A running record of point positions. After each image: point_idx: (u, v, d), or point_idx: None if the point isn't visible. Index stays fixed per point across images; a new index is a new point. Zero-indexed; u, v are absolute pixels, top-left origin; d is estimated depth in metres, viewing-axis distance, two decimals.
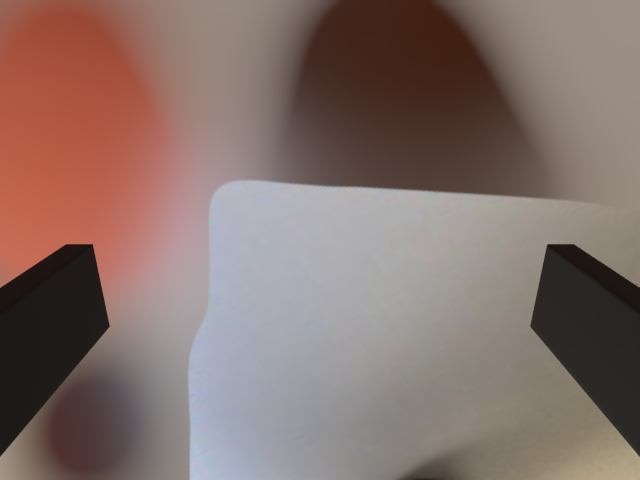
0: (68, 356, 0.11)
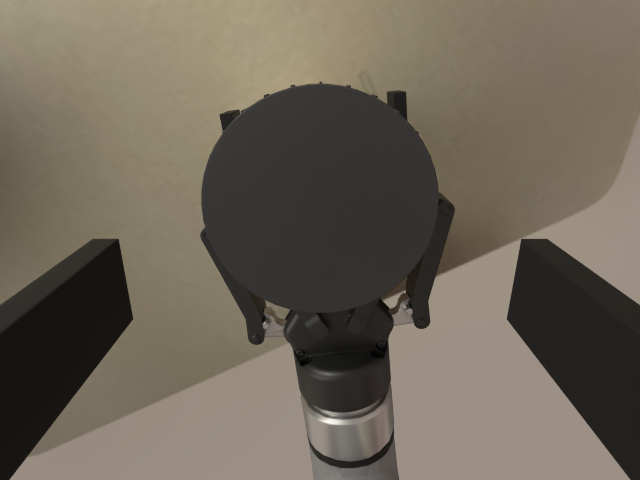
0: (97, 346, 0.11)
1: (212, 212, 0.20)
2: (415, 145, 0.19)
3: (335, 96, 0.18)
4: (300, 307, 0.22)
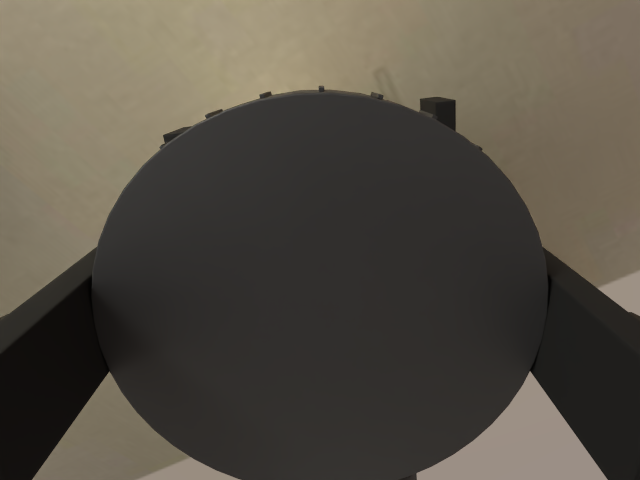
0: None
1: (115, 334, 0.10)
2: (511, 214, 0.09)
3: (352, 117, 0.09)
4: None
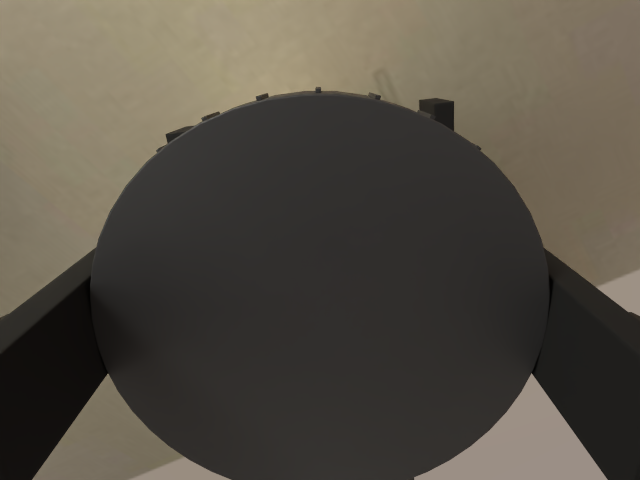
0: None
1: (365, 478, 0.12)
2: (139, 197, 0.09)
3: (116, 351, 0.10)
4: (538, 324, 0.10)
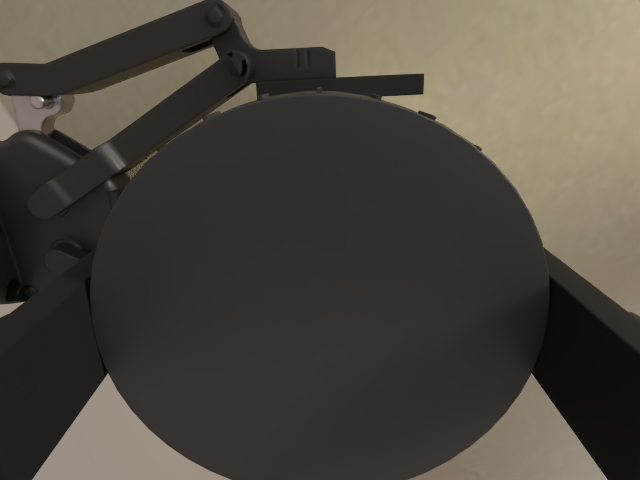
0: None
1: (364, 478, 0.12)
2: (139, 197, 0.09)
3: (116, 351, 0.10)
4: (537, 325, 0.10)
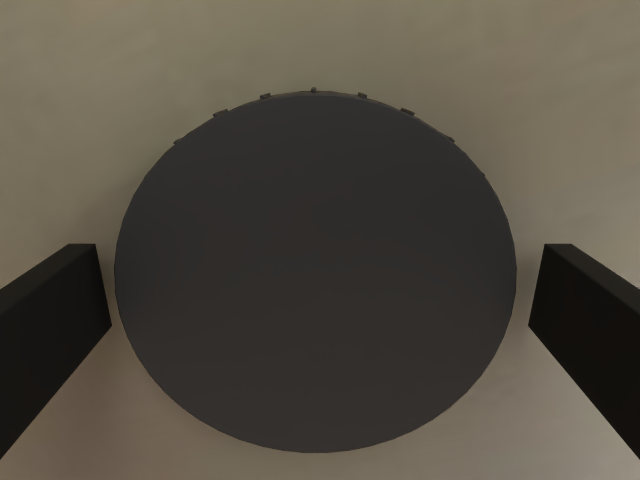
0: (71, 355, 0.11)
1: (356, 437, 0.13)
2: (158, 183, 0.10)
3: (136, 320, 0.12)
4: (506, 295, 0.12)
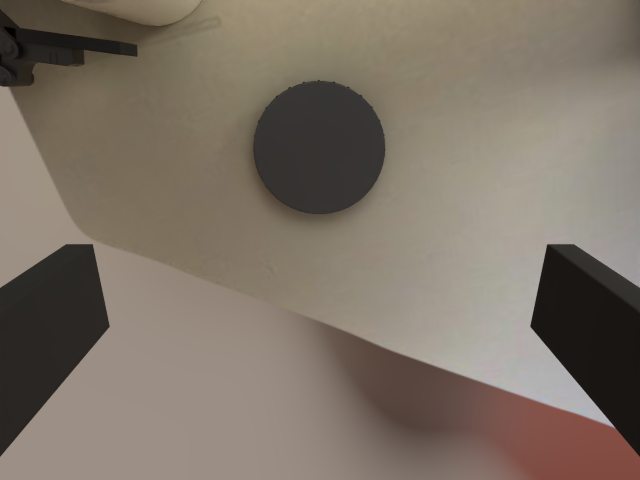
0: (68, 356, 0.11)
1: (333, 206, 0.37)
2: (271, 109, 0.34)
3: (259, 157, 0.36)
4: (382, 148, 0.35)
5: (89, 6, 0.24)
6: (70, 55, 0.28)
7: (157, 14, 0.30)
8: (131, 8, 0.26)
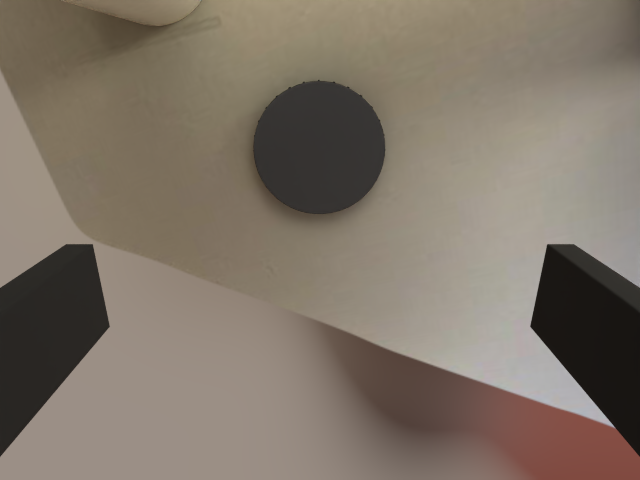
0: (68, 356, 0.11)
1: (333, 206, 0.37)
2: (271, 109, 0.34)
3: (259, 157, 0.36)
4: (382, 148, 0.35)
5: (89, 6, 0.24)
6: None
7: (157, 14, 0.30)
8: (131, 8, 0.26)
